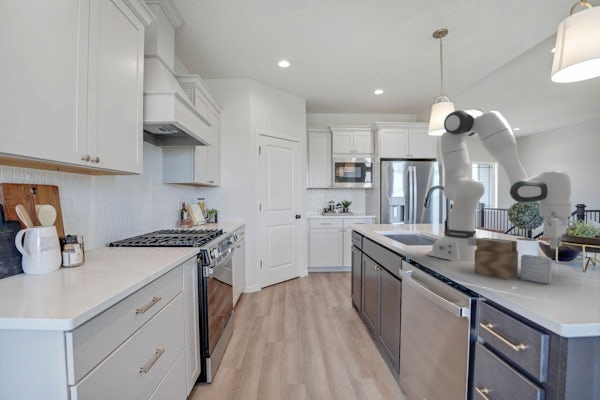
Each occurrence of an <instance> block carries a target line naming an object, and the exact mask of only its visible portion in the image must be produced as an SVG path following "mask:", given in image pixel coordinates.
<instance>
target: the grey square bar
mask: <svg viewBox="0 0 600 400" xmlns="http://www.w3.org/2000/svg"><path fill="white" fill-rule="evenodd" d="M483 238H484V237H481V238H480V237H476V238H474V237H470V238H468V245H472V246H476V243H477V239H479V240H488V241H497V242H506V243H512V242H511V241H512V240H510V241H502V240H503V239H501V240H493V239H494V238H491V239H483Z"/></svg>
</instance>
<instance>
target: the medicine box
mask: <svg viewBox="0 0 600 400" xmlns="http://www.w3.org/2000/svg"><path fill="white" fill-rule="evenodd" d="M520 279H521V280H525V281H528V282H529V281H531V282H537V283H542V284H547V285H550V284H551V282H552V258H551V257H548V256H541V255H532V254H522V255H521V256H520Z"/></svg>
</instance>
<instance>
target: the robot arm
mask: <svg viewBox="0 0 600 400" xmlns="http://www.w3.org/2000/svg"><path fill="white" fill-rule="evenodd" d="M443 127H444V130H445V132H443V133H442V135H441V136H440V152H441V157H442V162H443V167H444V168H443V169H444V187H443V190H442V192H443V193H442V194H443V195H444V197H445V198H446V199H448V200H450V201H453V203H452V207H451V210H450V212H449V215H448V228H447V229H445V230H444V231H443V234H444V236H443V237H441V238H439V239H438V240H436V241H435V242H434V243H433V244H432V249H431V250H430V251H427V254H426V255H427V256H431V257H435V258H440V259H443V260H444V259H445V260H449V261H452V262H453V261H454V262H475V250H476V246H472V245H468V238H470V237H474V238H477V230H476V213H477V210H478V205H479V202H480V200H481V199H482V197H483V196H484V194H485V185H484V184H483V183H482V182H481V181H480V180H478V179H474V178H469V169H470V167H471V161H470V155H469V152H468V151H469V149H468V147H467V142H466V141H467V137H472V136H474V135H475V134H476V135H477V136H478V138H479V139H480V142H481V144H482V145H483V147H484V150H486V152H487V153H488V154H489V155H490V156H491V157H492V158H493V159H495V161H496V162H498V163H499V164H500V165H501V167H502V169H503V171H504V172H505V175H506V176H507V178H508V180H509V181H510V186H511V187H510V189H509V194H510V196H511V198H512V199H513V200H514V201H515V202H517V203H519V204H525V205H529V204H533V203H535V202H539V216H540V217H543V237H544V238H546V239H548V240H549V245H550V247H549V248H550V249H553V250H557V249H558V248H560V247H561V241H562V240H561V239H562V236H564V235H565V234H566V233H567V229H568V221H569V218H571V217H572V202H571V194H572V183H571V178H570V175H569V174H568V172H565V171H562V170H554V169H546V170H542V171H541V172H539V173H537V174H535V175H533V176H530V177H529V176H528V174H527V173H526V171H525V169H524V167H523V165H522V163H521V161H520V158H519V154H518V153H519V152H518V145H517V140H516V137H515V134H514V132H513V130H512V128H511V126H510V125H509V122H508V121H507V120H506V119H505V118H504V117H503V116H502V114H501V113H500V112H499V111H495V110H490V111H486V112H485V111H483V110H481V109H474V108H473V109H471V108H470V109H469V108H467V109H462V110H455V111H452V112H450V113H449V114H448V115H446V116H445V119H444V122H443Z"/></svg>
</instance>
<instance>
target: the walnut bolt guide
mask: <svg viewBox="0 0 600 400" xmlns="http://www.w3.org/2000/svg"><path fill="white" fill-rule="evenodd" d="M482 238H483V239H493V240H502V241H511V242H512V243H506V242H497V241H488V240H479V239H477V243H476V250H475V261H474V274H478V275H484V276H488V277H493V278H498V279H499V278H500V279H505V280H508V281H509V280H511V279H512V278H513V277H515V276H517V275H518V274H519V250H518V241H517V240H509V239H500V238H491V237H490V238H489V237H482Z"/></svg>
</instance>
